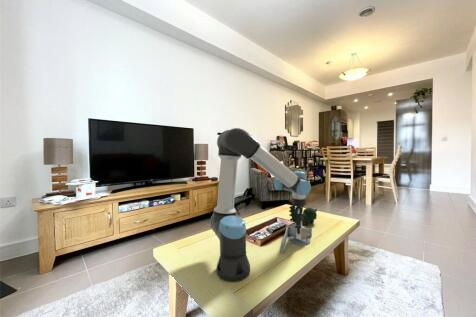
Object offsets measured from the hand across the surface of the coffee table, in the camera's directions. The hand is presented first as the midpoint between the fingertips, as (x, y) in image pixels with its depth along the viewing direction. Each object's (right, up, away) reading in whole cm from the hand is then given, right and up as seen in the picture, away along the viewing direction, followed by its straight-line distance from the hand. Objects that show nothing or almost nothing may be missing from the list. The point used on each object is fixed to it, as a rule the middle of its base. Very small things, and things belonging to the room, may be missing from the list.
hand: (299, 234), depth 120 cm
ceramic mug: (+1, -2, +1) cm, 2 cm away
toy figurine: (+11, -2, +25) cm, 28 cm away
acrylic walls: (-2, -4, -4) cm, 6 cm away
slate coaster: (0, -3, 0) cm, 3 cm away
